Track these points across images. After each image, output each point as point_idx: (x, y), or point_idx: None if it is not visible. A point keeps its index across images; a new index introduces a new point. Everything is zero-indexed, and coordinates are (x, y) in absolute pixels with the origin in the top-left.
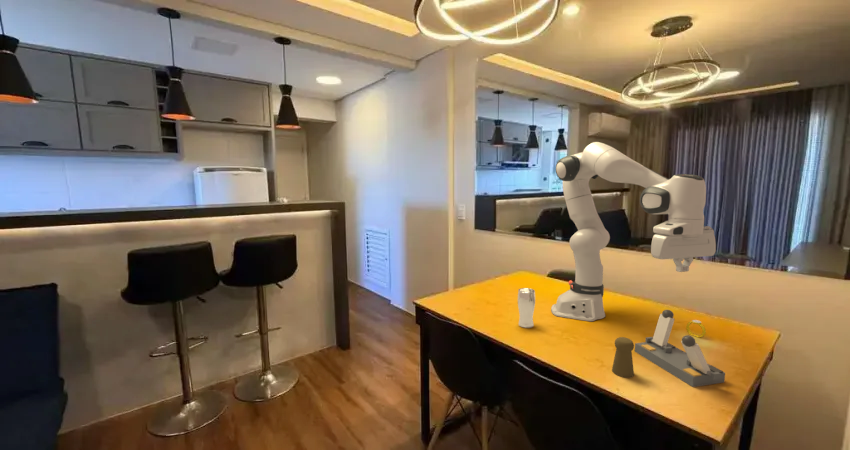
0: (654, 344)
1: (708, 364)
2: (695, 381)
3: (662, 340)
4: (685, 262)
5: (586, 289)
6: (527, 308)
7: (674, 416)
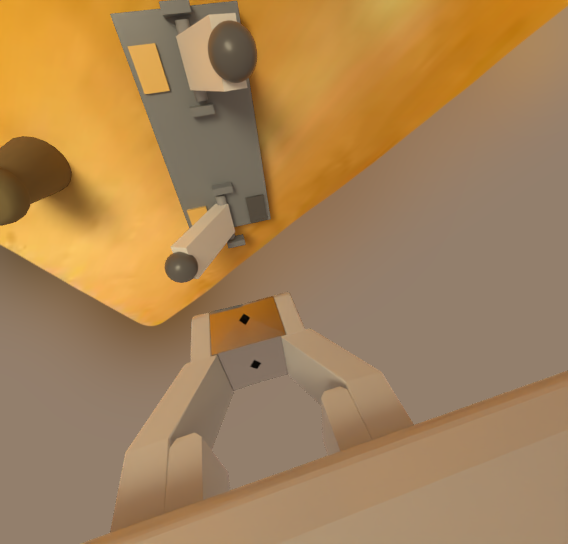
0: None
1: (263, 185)
2: None
3: (194, 85)
4: (311, 376)
5: None
6: None
7: (111, 301)
